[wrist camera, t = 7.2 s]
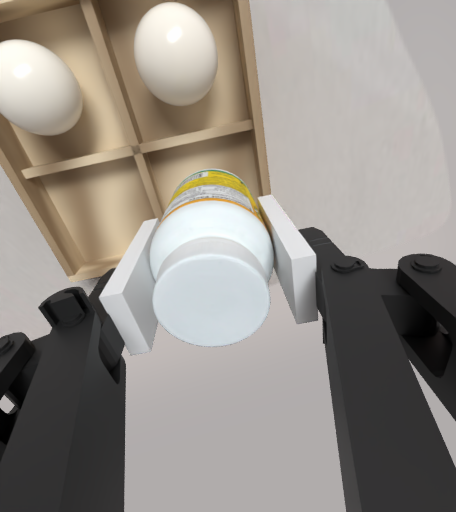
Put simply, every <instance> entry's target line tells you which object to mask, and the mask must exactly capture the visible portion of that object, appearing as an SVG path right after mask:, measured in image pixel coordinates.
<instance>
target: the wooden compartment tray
mask: <svg viewBox="0 0 456 512" xmlns="http://www.w3.org/2000/svg"><path fill="white" fill-rule="evenodd" d="M166 2H176V3H181V4H184V5H186V6H188V7H190V8H192V9H193V10H194V11H196V12H197V13H198V14H199V15H200V16H201V17H202V18H203V19H204V20H205V22H206V23H207V25H208V26H209V28H210V30H211V32H212V34H213V36H214V39H215V42H216V47H217V52H218V69H217V74H216V78H215V81H214V83H213V85H212V87H211V89H210V90H209V92H208V93H207V94H206V95H205V96H204V97H203V98H202V99H201V100H199V101H198V102H196V103H194V104H191V105H188V106H173V105H170V104H167V103H165V102H163V101H161V100H160V99H158V98H157V97H156V96H154V95H153V94H152V93H151V92H150V91H149V90H148V88H147V87H146V86H145V84H144V83H143V81H142V79H141V77H140V75H139V73H138V70H137V67H136V63H135V58H134V38H135V33H136V30H137V27H138V25H139V23H140V21H141V19H142V18H143V16H144V15H145V14H146V13H147V12H148V11H149V10H150V9H151V8H153V7H155V6H156V5H158V4H161V3H166ZM15 39H16V40H27V41H31V42H34V43H37V44H39V45H42V46H44V47H45V48H47V49H49V50H51V51H52V52H53V53H55V54H56V55H57V56H59V57H60V58H61V59H62V60H63V61H64V62H65V63H66V64H67V65H68V67H69V68H70V69H71V71H72V72H73V74H74V75H75V77H76V79H77V81H78V83H79V85H80V88H81V92H82V97H83V108H82V113H81V116H80V118H79V120H78V122H77V123H76V124H75V125H74V127H72V128H71V129H70V130H68V131H67V132H65V133H62V134H59V135H53V136H44V135H38V134H34V133H30V132H28V131H25V130H23V129H21V128H19V127H17V126H16V125H14V124H13V123H11V122H10V121H9V120H7V119H6V118H5V117H4V116H3V115H2V114H1V113H0V164H1V166H2V168H3V169H4V171H5V173H6V174H7V176H8V178H9V179H10V181H11V183H12V184H13V186H14V188H15V190H16V191H17V193H18V195H19V196H20V198H21V200H22V201H23V203H24V205H25V206H26V208H27V210H28V211H29V213H30V215H31V216H32V218H33V220H34V221H35V223H36V225H37V226H38V228H39V230H40V231H41V233H42V235H43V236H44V238H45V240H46V241H47V243H48V245H49V246H50V248H51V250H52V251H53V253H54V255H55V256H56V258H57V260H58V261H59V263H60V265H61V266H62V268H63V270H64V271H65V273H66V275H67V276H68V278H69V280H70V281H71V282H76V281H80V280H85V279H90V278H95V277H100V276H103V275H104V274H105V273H106V272H107V271H109V270H110V269H112V268H116V267H117V266H118V264H119V262H120V261H121V259H122V257H123V256H124V254H125V252H126V251H127V249H128V247H129V246H130V244H131V242H132V241H133V239H134V237H135V236H136V234H137V232H138V230H139V229H140V227H141V225H142V224H143V222H144V221H147V220H151V219H156V218H158V220H159V223H160V221H161V219H162V217H163V215H164V213H165V211H166V209H167V207H168V205H169V203H170V200H171V198H172V196H173V194H174V192H175V190H176V188H177V187H178V185H179V184H180V183H181V182H182V181H183V180H184V179H185V178H186V177H188V176H189V175H191V174H193V173H195V172H197V171H200V170H204V169H221V170H225V171H228V172H230V173H233V174H234V175H236V176H238V177H239V178H240V179H241V180H242V181H243V182H244V183H245V184H246V186H247V187H248V189H249V191H250V193H251V194H252V197H253V199H254V201H255V203H256V206H257V208H258V210H259V205H258V198H257V197H262V196H267V195H271V189H270V180H269V171H268V162H267V153H266V145H265V136H264V127H263V118H262V110H261V101H260V92H259V83H258V74H257V66H256V57H255V48H254V39H253V31H252V22H251V13H250V4H249V0H0V43H1V42H3V41H6V40H15Z"/></svg>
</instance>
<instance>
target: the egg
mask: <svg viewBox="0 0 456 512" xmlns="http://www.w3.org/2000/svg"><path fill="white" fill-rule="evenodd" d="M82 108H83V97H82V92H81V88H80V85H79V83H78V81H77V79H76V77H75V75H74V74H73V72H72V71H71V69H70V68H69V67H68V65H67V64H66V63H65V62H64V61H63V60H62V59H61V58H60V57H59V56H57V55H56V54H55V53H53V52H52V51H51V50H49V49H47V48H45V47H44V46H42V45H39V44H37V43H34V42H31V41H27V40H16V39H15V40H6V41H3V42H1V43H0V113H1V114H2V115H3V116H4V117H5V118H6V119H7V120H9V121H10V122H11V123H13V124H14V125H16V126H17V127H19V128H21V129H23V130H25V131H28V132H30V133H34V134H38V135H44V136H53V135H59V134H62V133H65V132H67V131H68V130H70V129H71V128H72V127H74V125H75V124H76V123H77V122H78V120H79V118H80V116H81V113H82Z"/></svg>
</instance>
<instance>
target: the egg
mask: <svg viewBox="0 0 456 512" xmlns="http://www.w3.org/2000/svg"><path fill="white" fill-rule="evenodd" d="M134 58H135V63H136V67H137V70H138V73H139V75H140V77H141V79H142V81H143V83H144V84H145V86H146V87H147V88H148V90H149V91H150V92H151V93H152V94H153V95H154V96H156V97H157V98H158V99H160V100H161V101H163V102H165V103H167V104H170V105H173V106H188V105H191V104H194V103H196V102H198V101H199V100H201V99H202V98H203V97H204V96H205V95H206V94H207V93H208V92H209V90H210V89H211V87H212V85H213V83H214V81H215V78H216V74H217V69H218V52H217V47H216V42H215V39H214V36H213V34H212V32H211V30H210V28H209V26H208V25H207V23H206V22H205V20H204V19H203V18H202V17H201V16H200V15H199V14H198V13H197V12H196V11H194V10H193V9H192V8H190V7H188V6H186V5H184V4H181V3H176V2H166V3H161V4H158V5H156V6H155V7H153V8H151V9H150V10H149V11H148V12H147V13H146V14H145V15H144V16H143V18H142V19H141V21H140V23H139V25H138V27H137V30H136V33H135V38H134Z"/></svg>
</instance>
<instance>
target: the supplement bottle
mask: <svg viewBox="0 0 456 512" xmlns="http://www.w3.org/2000/svg"><path fill="white" fill-rule="evenodd" d="M273 266H274V250H273V245H272V241H271V238H270V236H269V233H268V231H267V228H266V226H265V224H264V221H263V219H262V217H261V215H260V212H259V210H258V208H257V206H256V203H255V201H254V199H253V197H252V194H251V193H250V191H249V189H248V187H247V186H246V184H245V183H244V182H243V181H242V180H241V179H240V178H239V177H238V176H236V175H234V174H233V173H230V172H228V171H225V170H221V169H204V170H200V171H197V172H195V173H193V174H191V175H189V176H188V177H186V178H185V179H184V180H183V181H182V182H181V183H180V184H179V185H178V187H177V188H176V190H175V192H174V194H173V196H172V198H171V200H170V203H169V205H168V207H167V209H166V211H165V213H164V215H163V217H162V219H161V221H160V223H159V225H158V228H157V230H156V232H155V234H154V237H153V239H152V243H151V247H150V267H151V271H152V274H153V277H154V279H155V281H156V283H155V286H154V290H153V296H152V304H153V310H154V313H155V315H156V318H157V319H158V321H159V323H160V324H161V325H162V326H163V327H164V329H165V330H166V331H167V332H169V333H170V334H171V335H173V336H174V337H176V338H178V339H180V340H182V341H184V342H187V343H189V344H193V345H197V346H204V347H218V346H225V345H231V344H234V343H237V342H239V341H242V340H244V339H246V338H247V337H249V336H250V335H252V334H253V333H254V332H255V331H256V330H258V329H259V327H260V326H261V325H262V324H263V322H264V321H265V319H266V317H267V315H268V311H269V308H270V292H269V287H268V281H269V279H270V277H271V274H272V271H273Z"/></svg>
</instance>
